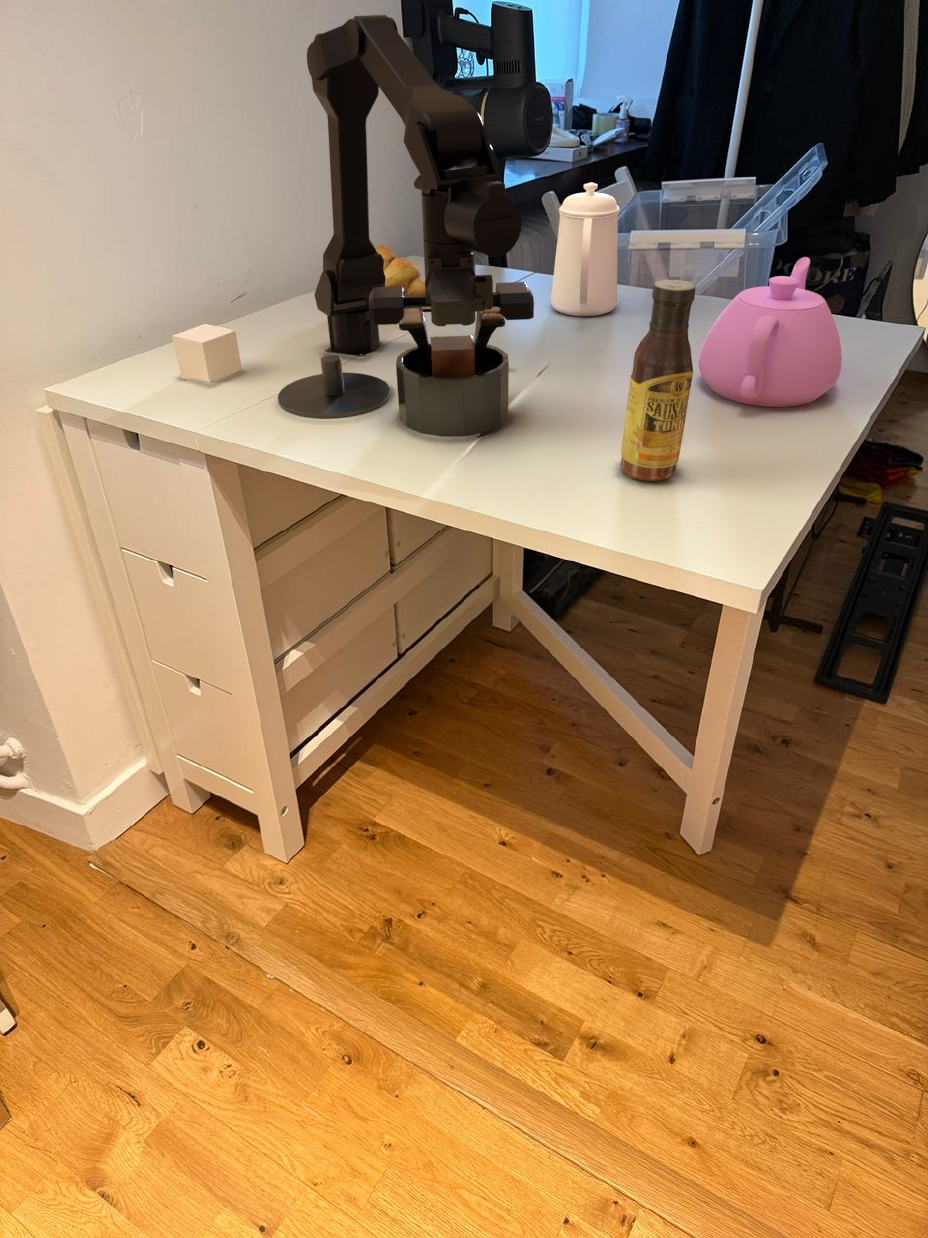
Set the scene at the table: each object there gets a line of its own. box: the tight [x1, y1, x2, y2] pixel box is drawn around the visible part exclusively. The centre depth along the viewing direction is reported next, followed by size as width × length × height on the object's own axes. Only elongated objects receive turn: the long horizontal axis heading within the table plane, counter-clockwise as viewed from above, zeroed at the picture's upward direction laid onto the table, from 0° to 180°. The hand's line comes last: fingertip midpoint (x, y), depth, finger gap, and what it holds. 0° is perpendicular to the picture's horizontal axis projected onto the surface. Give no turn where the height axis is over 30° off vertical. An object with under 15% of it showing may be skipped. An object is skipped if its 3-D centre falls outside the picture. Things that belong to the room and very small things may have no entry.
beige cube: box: [171, 323, 243, 384], centre depth 121 cm, size 6×6×6 cm
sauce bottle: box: [620, 279, 696, 482], centre depth 90 cm, size 7×6×20 cm
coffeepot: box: [550, 181, 620, 317], centre depth 139 cm, size 11×25×19 cm, turn 172°
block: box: [430, 335, 475, 378], centre depth 104 cm, size 5×5×5 cm
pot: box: [395, 341, 510, 439], centre depth 106 cm, size 13×13×8 cm
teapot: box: [697, 256, 843, 408], centre depth 112 cm, size 25×18×14 cm
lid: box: [277, 354, 392, 419], centre depth 112 cm, size 15×15×6 cm
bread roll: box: [374, 244, 426, 295], centre depth 148 cm, size 13×10×8 cm
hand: (452, 375), depth 105 cm, fingers closed on block, 5 cm apart
